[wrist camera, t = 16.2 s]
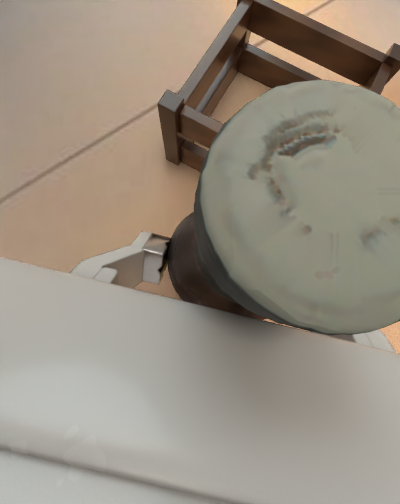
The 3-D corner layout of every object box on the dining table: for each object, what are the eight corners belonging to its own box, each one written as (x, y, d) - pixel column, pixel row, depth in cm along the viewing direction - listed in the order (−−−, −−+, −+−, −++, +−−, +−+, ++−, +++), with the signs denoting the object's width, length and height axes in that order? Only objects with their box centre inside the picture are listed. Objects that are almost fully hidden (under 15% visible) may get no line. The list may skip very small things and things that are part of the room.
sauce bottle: (181, 240, 23) (145, -38, 4) (241, 246, 24) (499, 10, 4) (174, 306, 22) (73, 389, 3) (238, 311, 22) (588, 423, 3)
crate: (165, 159, 25) (156, 103, 18) (232, 56, 28) (247, -28, 21) (298, 229, 24) (345, 200, 17) (351, 115, 27) (411, 50, 20)
